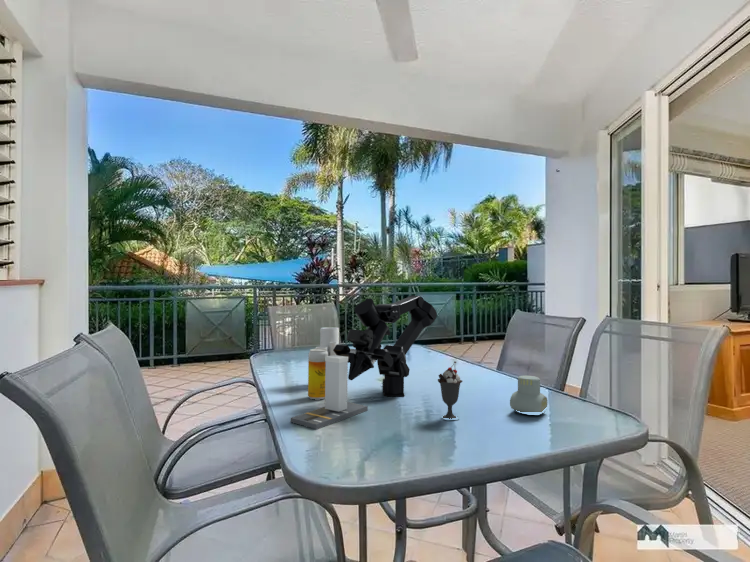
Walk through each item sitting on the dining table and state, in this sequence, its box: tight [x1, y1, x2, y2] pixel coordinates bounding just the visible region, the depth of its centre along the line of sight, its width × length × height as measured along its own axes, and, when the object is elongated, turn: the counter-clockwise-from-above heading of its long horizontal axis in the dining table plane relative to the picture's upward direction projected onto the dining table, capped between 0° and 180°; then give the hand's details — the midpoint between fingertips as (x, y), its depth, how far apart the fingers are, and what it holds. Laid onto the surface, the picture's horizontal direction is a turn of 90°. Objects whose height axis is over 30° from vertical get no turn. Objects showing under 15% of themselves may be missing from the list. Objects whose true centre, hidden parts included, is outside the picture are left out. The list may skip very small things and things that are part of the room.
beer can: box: [307, 348, 328, 401], centre depth 138 cm, size 6×6×15 cm
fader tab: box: [324, 355, 349, 412], centre depth 120 cm, size 4×5×14 cm
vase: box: [314, 326, 340, 356], centre depth 156 cm, size 11×7×20 cm, turn 170°
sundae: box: [437, 361, 463, 419], centre depth 118 cm, size 7×7×15 cm
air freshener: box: [509, 375, 548, 412], centre depth 123 cm, size 11×8×10 cm
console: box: [289, 401, 369, 430], centre depth 118 cm, size 21×9×1 cm, turn 145°
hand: (349, 379), depth 125 cm, fingers closed
